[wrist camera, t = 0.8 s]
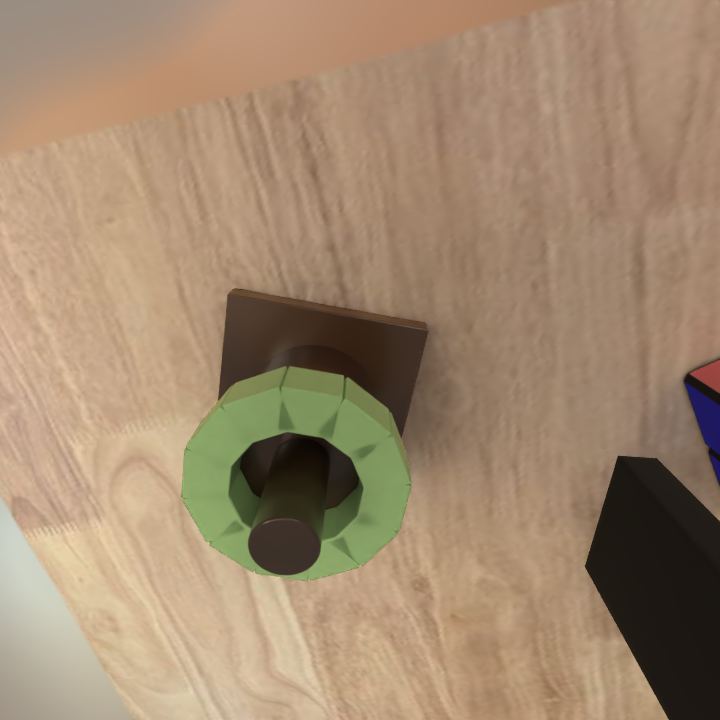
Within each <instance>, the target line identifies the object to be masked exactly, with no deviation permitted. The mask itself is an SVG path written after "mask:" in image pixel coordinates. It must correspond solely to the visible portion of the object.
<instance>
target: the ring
mask: <svg viewBox="0 0 720 720" xmlns="http://www.w3.org/2000/svg"><path fill="white" fill-rule="evenodd" d="M344 379H345V377H344V376H343V375H338V374H333V373H327V372H321V371H315V370H310V369H304V368H298V367H292V366H289V368H288V369H287V367H286V366H285V367H282V368H279V369H276V370H273V371H270V372H267V373H264V374H261V375H258V376H255V377H251V378H248V379H245V380H242V381H239V382H236V383H235V384H234V385H232V386H231V387H230V388H229V389H228V390H227V391H226V393H225V394H224V395H223V396H222V397H221V399H220V400H219V401H218V402H217V403H216V405H215V406H214V407H213V408H212V409H211V411H210V412H209V413H208V414H207V415H206V417H205V418H204V419H203V420H202V421H201V423H200V425H199V426H198V428H197V429H196V431H195V433H194V434H193V436H192V437H191V439H190V441H189V442H188V444H187V445H186V449H185V451H184V465H183V480H182V495H181V496H182V498H184V499H183V502H184V504H185V506H186V507H187V509H188V511H189V513H190V514H191V516H192V518H193V520H194V521H195V523H196V525H197V526H198V528H199V530H200V532H201V533H202V535H203V537H204V539H205V540H206V542H210V544H209V545H210V546H212V547H213V548H215V549H216V550H218V551H220V552H221V553H223V554H224V555H226V556H228V557H229V558H231V559H232V560H234V561H235V562H237V563H239V564H240V565H242V566H243V567H245V568H247V569H248V570H250V571H252V572H253V571H254V570H255V569H256V570H255V572H256V574H263V575H270V576H276V577H283V578H290V579H297V580H303V581H307V580H308V577H309V579H310V580H315V579H318V578H322V577H326V576H330V575H333V574H337V573H341V572H344V571H348V570H352V569H355V568H358V567H359V565H361V566H363V565H364V564H365V563H366V562H368V561H369V560H370V559H371V558H372V557H373V556H374V555H375V554H376V553H377V552H379V551H380V550H381V549H382V548H383V547H384V546H385V545H386V544H387V543H388V542H390V541H391V540H392V539H393V538H394V537H395V536H396V535H397V534H398V531H399V530H400V528H401V524H402V520H403V516H404V512H405V509H406V505H407V501H408V497H409V494H410V490H411V478H410V471H409V464H408V457H407V453H406V451H405V448H404V445H403V443H402V440H401V437H400V434H399V432H398V429H397V426H396V424H395V421H394V418H393V416H392V413H391V412H389V409H388V408H387V407H385V406H384V405H383V404H382V403H380V402H379V401H378V400H376V399H375V398H374V397H373V396H371V395H370V394H369V393H367V392H366V391H365V390H364V389H362V388H361V387H360V386H359V385H357V384H356V383H355V382H353V381H352V380H351V379H350V378H348V377H347V378H346V379H345V380H344ZM286 432H290V433H296V434H302V435H308V436H314V437H320V438H324V439H325V440H327V441H328V442H329V443H331V444H332V445H334V446H335V447H336V448H338V449H339V450H340V451H342V452H343V453H344V454H346V455H347V456H349V457H350V458H351V459H352V462H353V464H354V466H355V469H356V471H357V474H358V476H359V482H358V486H357V488H356V489H354V490H353V491H352V492H351V493H350V494H349V495H348V496H347V497H346V498H345V499H344V500H343V501H342V502H341V503H340V504H339V505H338V506H337V507H334V508H330V509H327V510H325V516H324V525H323V534H322V543H321V552H320V555H319V557H318V559H317V561H316V562H315V563H314V565H313V566H312V567H310V568H309V569H308V570H306V571H304V572H302V573H299V574H295V575H277V574H273V573H270V572H268V571H266V570H264V569H262V568H261V567H259V566H258V565H257V564H256V563H255V562H254V560H253V559H252V557H251V555H250V553H249V549H248V538H249V534H250V531H251V528H252V525H253V521H254V518H255V515H256V512H257V508H258V505H259V502H260V499H261V498H259V497H258V496H256V495H255V494H253V493H252V491H251V489H250V487H249V485H248V483H247V481H246V479H245V477H244V475H243V473H242V471H241V469H240V464H241V456H242V455H243V453H244V452H245V451H246V450H247V449H248V448H249V447H250V446H251V445H252V443H254V442H257V441H260V440H263V439H266V438H270V437H273V436H276V435H279V434H282V433H286Z"/></svg>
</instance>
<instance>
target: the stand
mask: <svg viewBox="0 0 720 720" xmlns="http://www.w3.org/2000/svg"><path fill="white" fill-rule="evenodd" d="M427 334H428V328H427V326H426V324H425V323H422V322H417V321H411V320H406V319H400V318H395V317H389V316H384V315H378V314H373V313H367V312H362V311H356V310H351V309H345V308H339V307H334V306H328V305H323V304H317V303H312V302H306V301H301V300H295V299H290V298H284V297H279V296H273V295H268V294H262V293H257V292H251V291H246V290H240V289H233V290H232V291H231V292H230V293H229V294H228V299H227V310H226V321H225V332H224V342H223V353H222V364H221V375H220V386H219V397H218V401H219V400H220V399H221V397H222V396H223V395H224V394H225V393H226V391H227V390H228V389H229V388H230V387H231V386H232V385H234V384H235V383H236V382H239V381H242V380H245V379H248V378H251V377H255V376H258V375H261V374H264V373H267V372H270V371H273V370H276V369H279V368H282V367H285V366H286V367H287V369H288V368H289V366H292V367H298V368H304V369H310V370H315V371H321V372H327V373H333V374H338V375H343V376H344V377H345V379H346V378H347V377H348V378H350V379H351V380H352V381H353V382H355V383H356V384H357V385H359V386H360V387H361V388H362V389H364V390H365V391H366V392H367V393H369V394H370V395H371V396H373V397H374V398H375V399H376V400H378V401H379V402H380V403H382V404H383V405H384V406H385V407H387V408H388V409H389V412H391V413H392V416H393V418H394V421H395V424H396V426H397V429H398V432H399V434H400V437H401V439H402V435H403V431H404V427H405V423H406V419H407V415H408V411H409V407H410V403H411V399H412V395H413V391H414V387H415V382H416V378H417V374H418V370H419V366H420V362H421V358H422V354H423V350H424V346H425V342H426V338H427ZM345 379H344V380H345ZM240 469H241V471H242V473H243V475H244V477H245V479H246V481H247V483H248V485H249V487H250V489H251V491H252V493H253V494H255V495H256V496H258V497H259V498H261V499H260V502H259V505H258V508H257V512H256V515H255V518H254V521H253V525H252V528H251V531H250V534H249V538H248V549H249V553H250V555H251V557H252V559H253V560H254V562H255V563H256V564H257V565H258V566H259V567H261V568H262V569H264V570H266V571H268V572H270V573H273V574H277V575H295V574H299V573H302V572H304V571H306V570H308V569H309V568H310V567H312V566H313V565H314V563H315V562H316V561H317V559H318V557H319V555H320V552H321V543H322V534H323V525H324V516H325V510H327V509H330V508H334V507H337V506H338V505H339V504H340V503H341V502H342V501H343V500H344V499H345V498H346V497H347V496H348V495H349V494H350V493H351V492H352V491H353V490H354V489H356V488H357V486H358V482H359V476H358V474H357V471H356V469H355V466H354V464H353V462H352V459H351V458H350V457H349V456H347V455H346V454H344V453H343V452H342V451H340V450H339V449H338V448H336V447H335V446H334V445H332V444H331V443H329V442H328V441H327V440H325V439H324V438H320V437H314V436H308V435H302V434H296V433H290V432H286V433H282V434H279V435H276V436H273V437H270V438H266V439H263V440H260V441H257V442H254V443H252V445H251V446H250V447H249V448H248V449H247V450H246V451H245V452H244V453H243V455H242V456H241V464H240Z"/></svg>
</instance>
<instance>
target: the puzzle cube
mask: <svg viewBox="0 0 720 720" xmlns="http://www.w3.org/2000/svg"><path fill="white" fill-rule="evenodd" d="M684 382H685V385H686V388H687V391H688V394H689V397H690V400H691V403H692V406H693V409H694V411H695V414H696V417H697V420H698V423H699V426H700V429H701V432H702V435H703V438H704V441H705V444H707V445H708V446H709V447H710V449H709V455H710V458H711V461H712V464H713V467H714V470H715V473H716V476H717V479H718V482H719V484H720V360H718V361H716V362H713V363H711V364H709V365H706V366H704V367H702V368H700V369H697V370H695V371H693V372H691V373H688V375H687V376H686V378H685V380H684Z"/></svg>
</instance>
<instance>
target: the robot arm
mask: <svg viewBox="0 0 720 720" xmlns="http://www.w3.org/2000/svg"><path fill="white" fill-rule="evenodd" d="M585 568H586V570H587V572H588V573H589V575H590V577H591V579H592V581H593V583H594V584H595V586H596V588H597V590H598V592H599V593H600V595H601V597H602V599H603V601H604V603H605V604H606V606H607V608H608V610H609V612H610V613H611V615H612V617H613V619H614V621H615V623H616V624H617V626H618V628H619V630H620V632H621V633H622V635H623V637H624V639H625V641H626V643H627V644H628V646H629V648H630V650H631V652H632V654H633V655H634V657H635V659H636V661H637V663H638V664H639V666H640V668H641V670H642V672H643V674H644V675H645V677H646V679H647V681H648V683H649V684H650V686H651V688H652V690H653V692H654V694H655V695H656V697H657V699H658V701H659V703H660V704H661V706H662V708H663V710H664V712H665V714H666V715H667V717H668V719H669V720H720V521H719V520H718V519H717V518H716V517H715V516H714V515H713V514H712V513H711V512H710V511H709V510H708V509H707V508H706V507H705V506H704V505H703V504H702V503H701V502H700V501H699V500H698V499H697V498H696V497H695V496H694V495H693V494H692V493H691V492H690V491H689V490H688V489H687V488H686V487H685V486H684V485H683V484H682V483H681V482H680V481H679V480H678V479H677V478H676V477H675V476H674V475H673V474H672V473H671V472H670V471H669V470H668V469H667V468H666V467H665V466H664V465H663V464H662V463H661V462H660V461H659V460H658V459H657V458H643V457H628V456H618V458H617V461H616V464H615V468H614V471H613V474H612V478H611V481H610V484H609V488H608V491H607V494H606V498H605V501H604V504H603V508H602V511H601V514H600V518H599V521H598V524H597V528H596V531H595V534H594V538H593V541H592V545H591V548H590V551H589V555H588V558H587V561H586V565H585Z"/></svg>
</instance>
